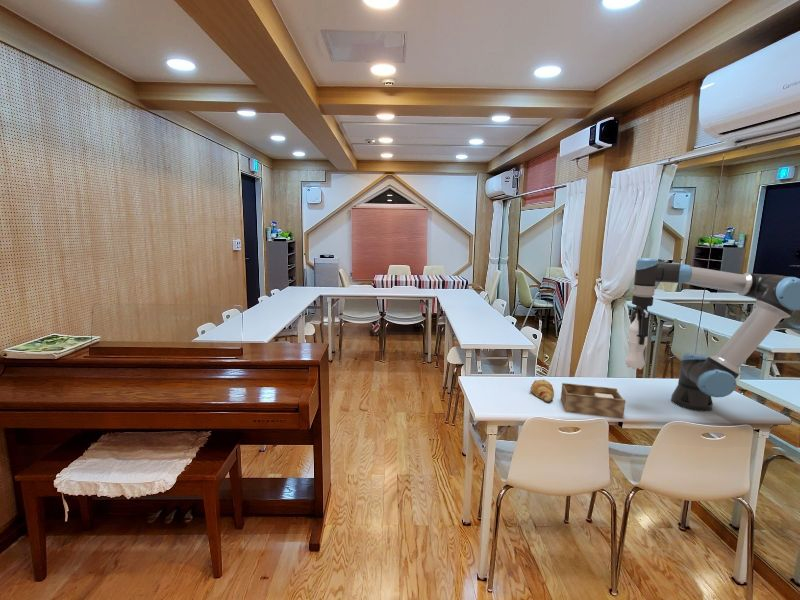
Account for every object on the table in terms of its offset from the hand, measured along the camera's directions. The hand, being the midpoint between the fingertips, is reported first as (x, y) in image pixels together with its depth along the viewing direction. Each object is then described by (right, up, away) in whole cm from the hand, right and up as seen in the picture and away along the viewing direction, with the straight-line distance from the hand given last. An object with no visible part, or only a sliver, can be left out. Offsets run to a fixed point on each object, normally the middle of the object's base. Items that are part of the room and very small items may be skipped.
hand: (636, 349), depth 173 cm
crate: (-19, -26, 0) cm, 32 cm away
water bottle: (0, -8, +1) cm, 8 cm away
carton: (-14, -25, -1) cm, 29 cm away
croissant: (-34, -23, +17) cm, 45 cm away
